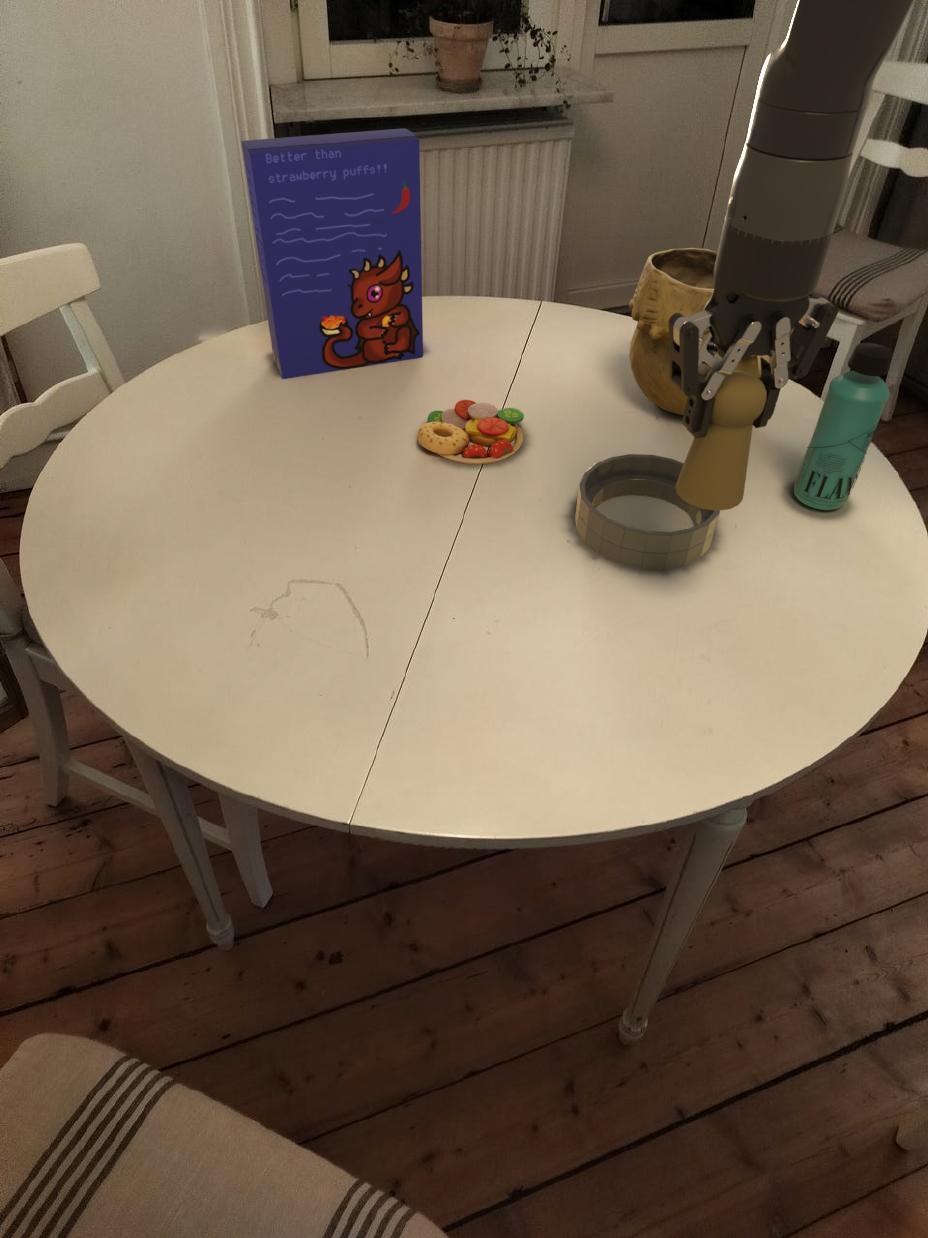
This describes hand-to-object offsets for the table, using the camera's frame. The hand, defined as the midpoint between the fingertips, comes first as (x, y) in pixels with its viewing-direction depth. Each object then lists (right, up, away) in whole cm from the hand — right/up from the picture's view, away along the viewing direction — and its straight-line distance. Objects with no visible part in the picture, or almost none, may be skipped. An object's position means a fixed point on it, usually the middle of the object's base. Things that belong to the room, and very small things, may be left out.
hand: (725, 427), depth 71 cm
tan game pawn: (0, -5, +5) cm, 7 cm away
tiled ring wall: (-2, -6, +26) cm, 27 cm away
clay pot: (+10, +14, +47) cm, 50 cm away
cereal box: (-40, +23, +56) cm, 73 cm away
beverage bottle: (+21, -3, +30) cm, 37 cm away
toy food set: (-21, +7, +40) cm, 45 cm away
